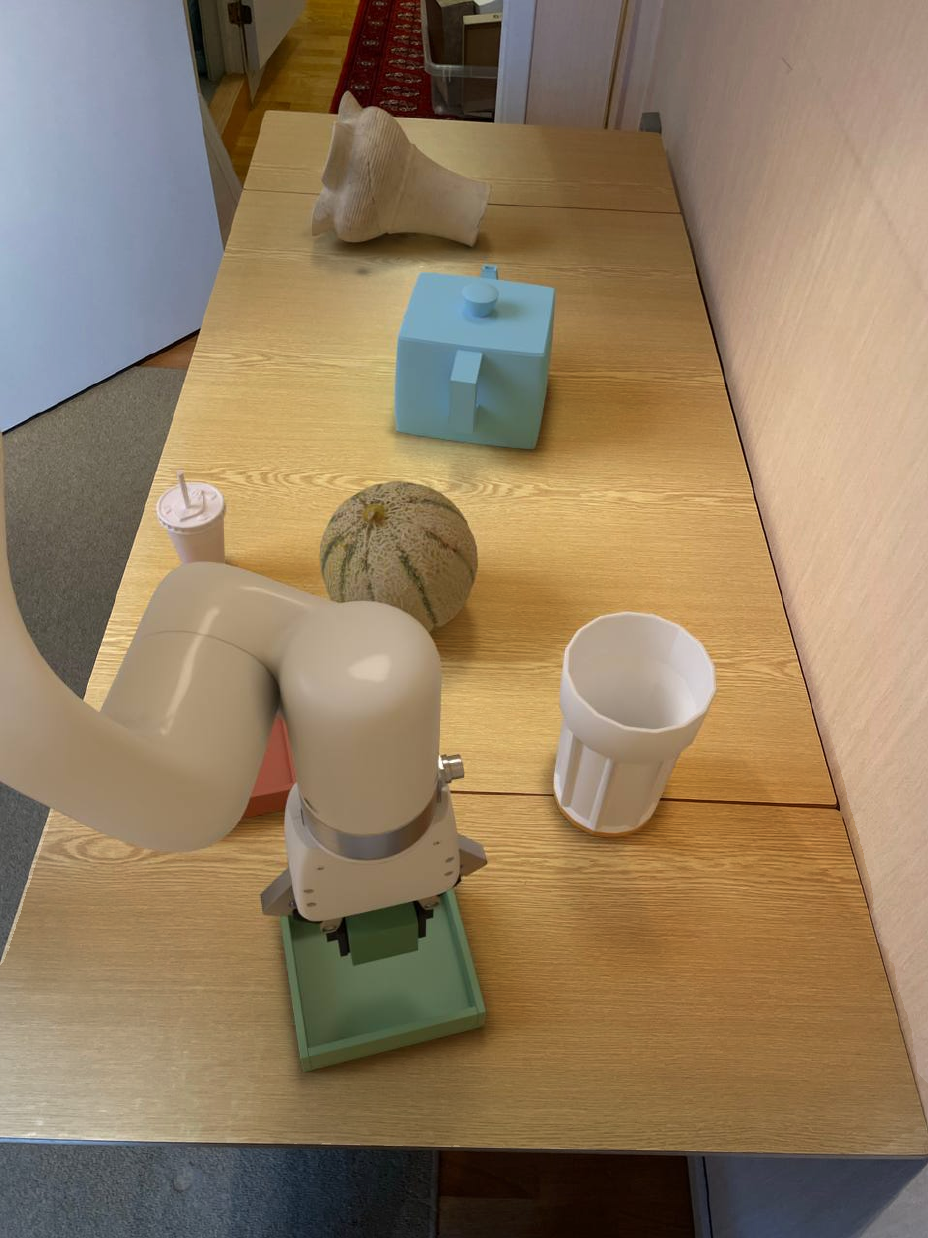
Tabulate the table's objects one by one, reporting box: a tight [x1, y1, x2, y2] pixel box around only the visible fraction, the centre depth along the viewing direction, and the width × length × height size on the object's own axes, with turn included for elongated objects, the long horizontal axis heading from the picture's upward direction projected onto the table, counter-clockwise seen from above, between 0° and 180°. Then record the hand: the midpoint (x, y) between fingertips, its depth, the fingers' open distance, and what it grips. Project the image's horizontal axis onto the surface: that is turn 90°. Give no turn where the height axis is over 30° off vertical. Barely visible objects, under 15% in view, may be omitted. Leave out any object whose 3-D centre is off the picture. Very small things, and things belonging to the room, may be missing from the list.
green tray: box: [279, 887, 487, 1073], centre depth 73 cm, size 13×11×3 cm
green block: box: [345, 901, 418, 966], centre depth 66 cm, size 4×4×4 cm
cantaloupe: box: [318, 480, 479, 633], centre depth 92 cm, size 15×15×15 cm
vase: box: [310, 90, 492, 248], centre depth 137 cm, size 22×22×28 cm
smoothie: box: [155, 469, 227, 565], centre depth 94 cm, size 6×6×14 cm
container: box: [394, 263, 556, 450], centre depth 114 cm, size 17×25×15 cm
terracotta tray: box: [240, 716, 297, 820], centre depth 84 cm, size 11×11×3 cm
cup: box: [552, 610, 718, 838], centre depth 78 cm, size 11×11×17 cm
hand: (379, 925), depth 67 cm, fingers closed on green block, 4 cm apart
